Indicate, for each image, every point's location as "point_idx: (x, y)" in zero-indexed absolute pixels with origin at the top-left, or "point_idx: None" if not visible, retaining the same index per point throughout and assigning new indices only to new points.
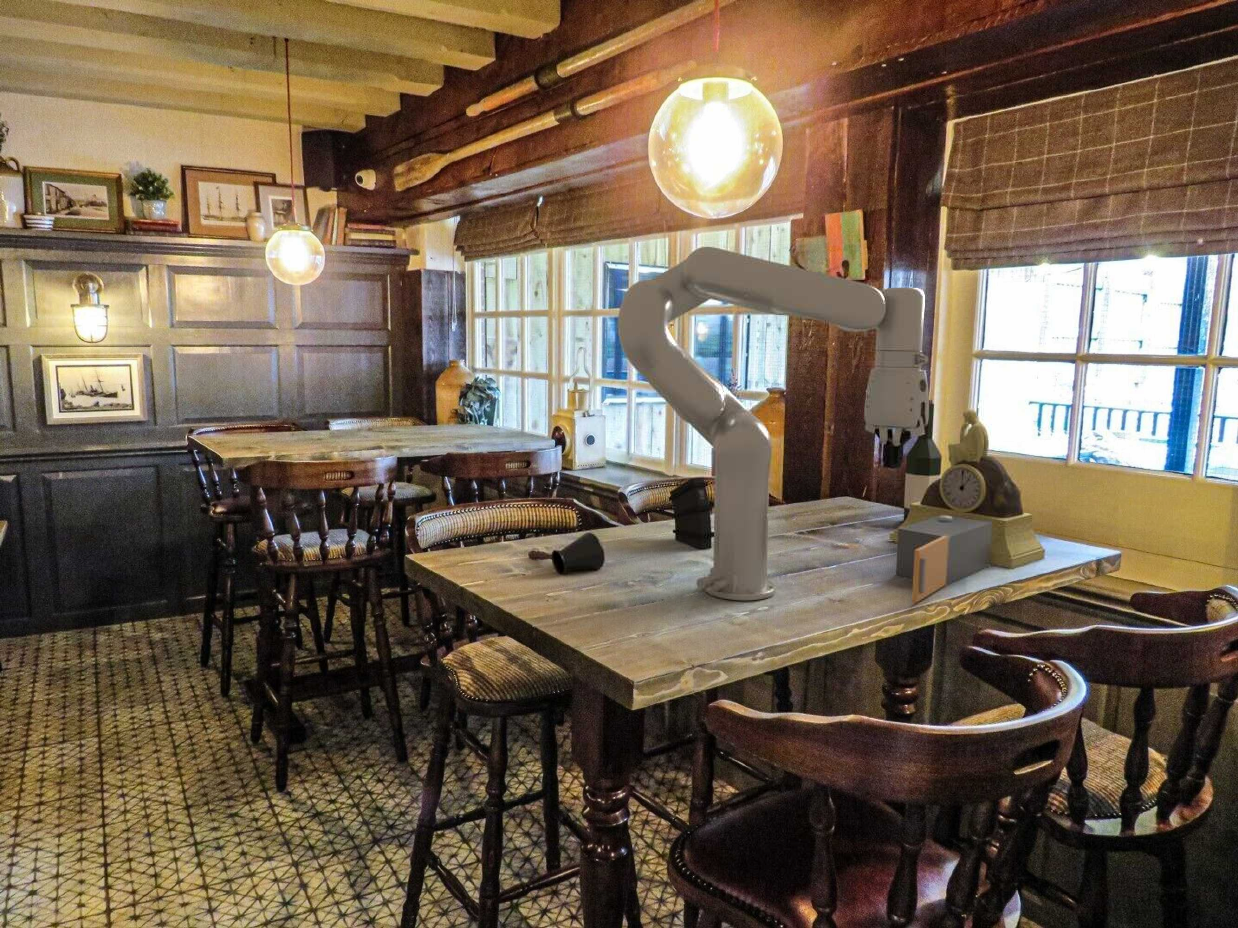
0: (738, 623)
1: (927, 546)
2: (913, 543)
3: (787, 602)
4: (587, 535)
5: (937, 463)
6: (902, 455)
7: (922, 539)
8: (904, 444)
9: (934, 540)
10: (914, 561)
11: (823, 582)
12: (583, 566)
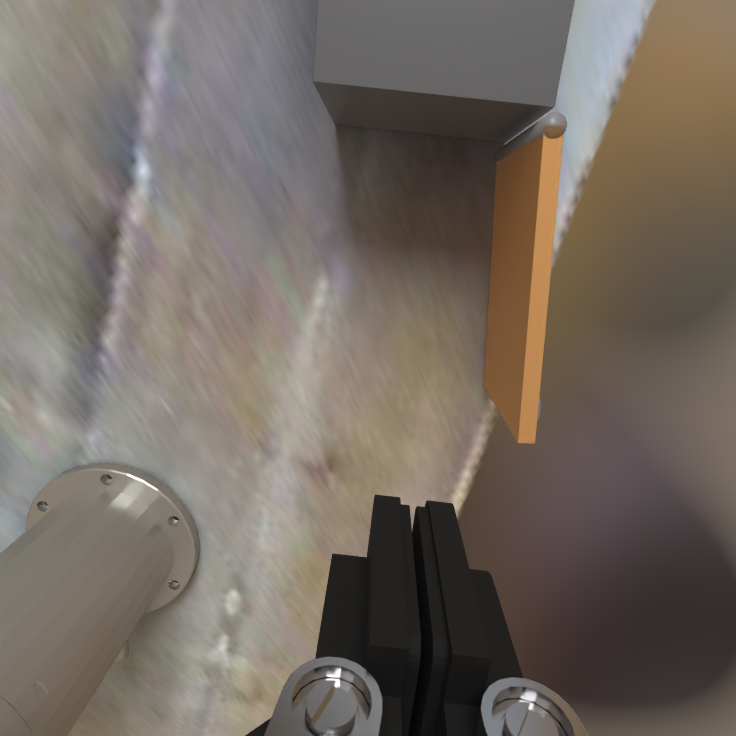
0: (253, 693)
1: (540, 367)
2: (390, 104)
3: (247, 542)
4: None
5: None
6: (500, 620)
7: (430, 102)
8: (541, 704)
9: (535, 256)
10: (509, 426)
11: (219, 351)
12: None
